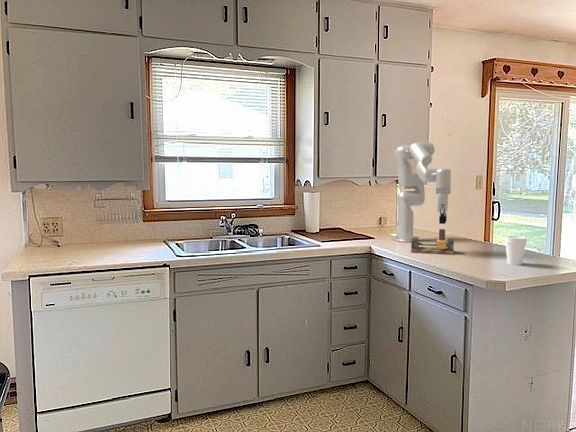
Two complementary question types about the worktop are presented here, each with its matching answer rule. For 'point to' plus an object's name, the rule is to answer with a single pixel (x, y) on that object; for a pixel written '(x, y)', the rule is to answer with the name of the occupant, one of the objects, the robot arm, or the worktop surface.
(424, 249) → the rail board
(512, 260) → the foam cup
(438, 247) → the carriage
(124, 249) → the worktop surface
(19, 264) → the worktop surface
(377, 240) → the worktop surface
